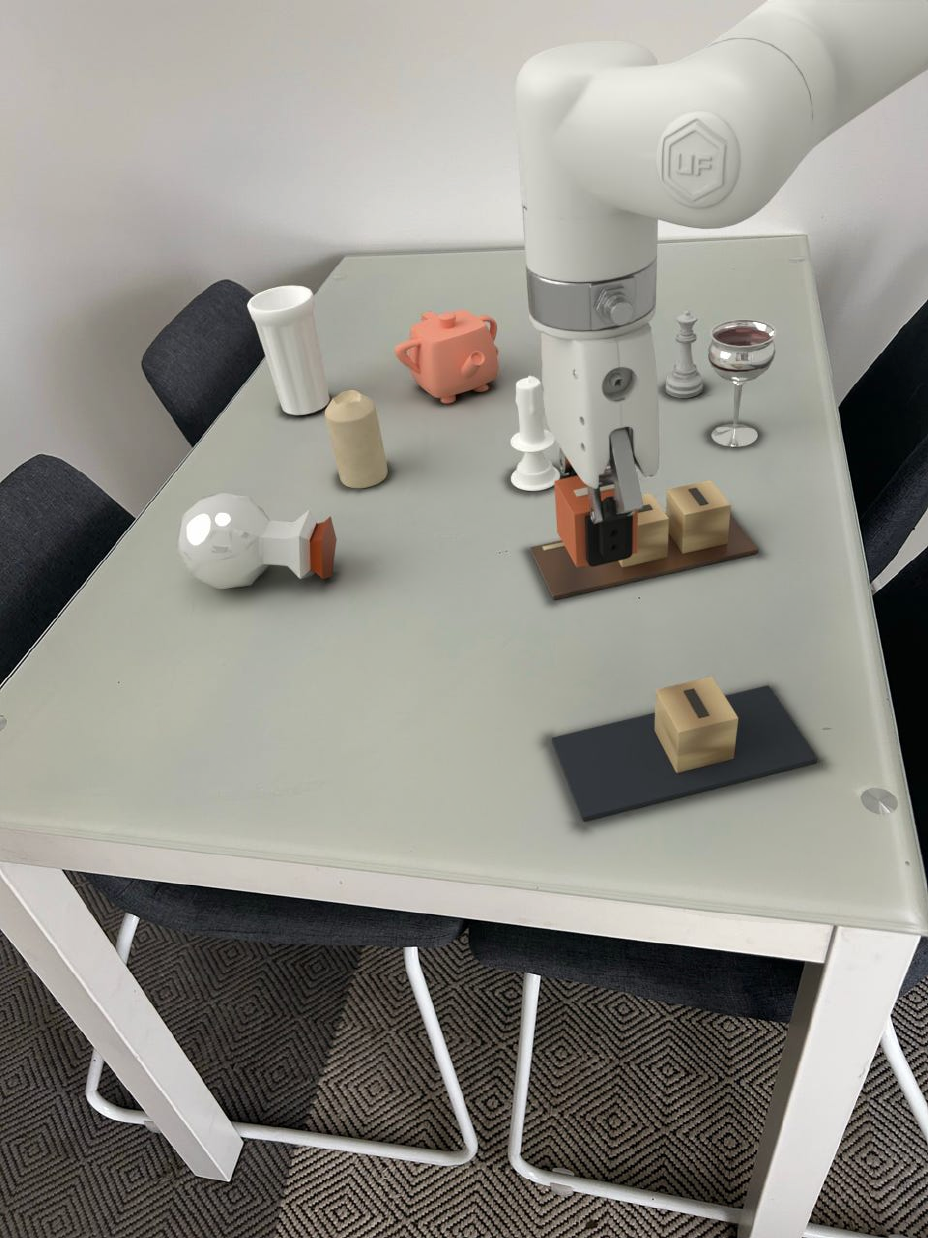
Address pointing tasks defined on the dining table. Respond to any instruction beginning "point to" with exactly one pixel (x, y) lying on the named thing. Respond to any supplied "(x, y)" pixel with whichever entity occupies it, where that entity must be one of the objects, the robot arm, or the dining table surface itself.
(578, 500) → the orange striped cube
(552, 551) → the far board
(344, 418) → the candle
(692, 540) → the tan wooden block
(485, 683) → the dining table surface
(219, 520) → the potion bottle
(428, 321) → the teapot
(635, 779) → the near mat
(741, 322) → the wineglass
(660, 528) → the far letter i
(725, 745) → the tan block
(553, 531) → the dining table surface
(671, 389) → the chess piece
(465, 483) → the dining table surface
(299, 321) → the cup
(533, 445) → the candle
